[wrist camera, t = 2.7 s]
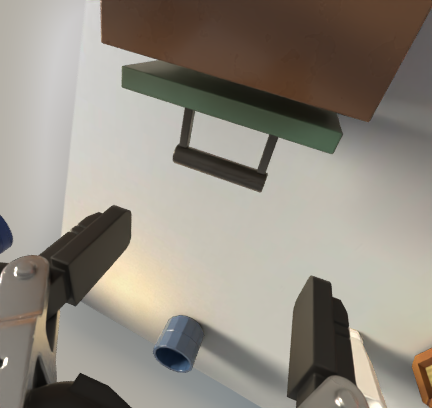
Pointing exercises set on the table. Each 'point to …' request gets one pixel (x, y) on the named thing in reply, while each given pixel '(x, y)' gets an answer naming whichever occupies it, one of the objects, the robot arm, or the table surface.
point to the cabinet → (277, 43)
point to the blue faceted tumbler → (179, 344)
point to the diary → (424, 375)
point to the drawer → (232, 117)
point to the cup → (365, 373)
